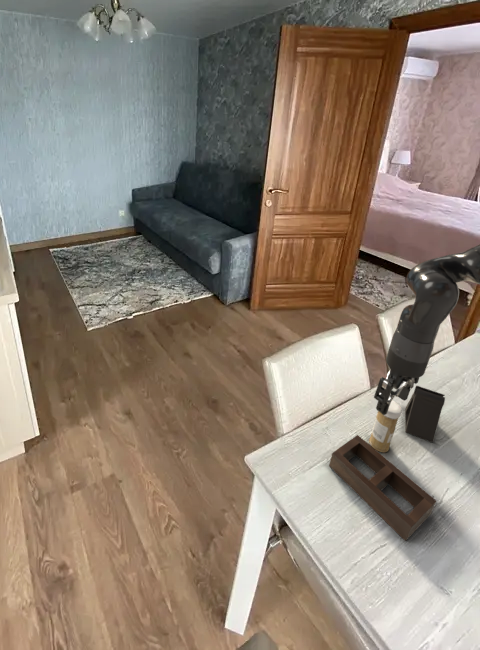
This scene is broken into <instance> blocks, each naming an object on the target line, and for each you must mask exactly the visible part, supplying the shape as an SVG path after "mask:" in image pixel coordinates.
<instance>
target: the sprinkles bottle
mask: <svg viewBox="0 0 480 650" xmlns="http://www.w3.org/2000/svg"><path fill="white" fill-rule="evenodd" d="M402 411H403V409H402V407H401V405H400V404H399V403H398V402H397V401H395V400H394V399H393V400H392V401H391V403H390V406H389V409H388V412H387V414H385V415H383V414H382V413H380V412H379V411H378V410H377V413H376V416H375V420H374V423H373V426H372V430H371V434H370V437H369V439H368V442H369V445H370V446H371V447H373V448H374V449H375V450H376V451H377V452H379V453H386V452H388V451H389V450H390V446H391V442H392V440H393V438H394V434H395V431H396V427H397V424H398V421H399V419H400V418H401V415H402Z"/></svg>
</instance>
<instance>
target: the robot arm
mask: <svg viewBox="0 0 480 650" xmlns="http://www.w3.org/2000/svg"><path fill="white" fill-rule="evenodd" d="M405 280H406V284H407V286H408V287H409V289H410V290H411V292H412V293H413V294H414V296H415V299H414V302H413V304H408V305H406V306H405V307H404V308H403V309H402V311H401V313H400V316H399V319H398V323H397V325H396V329H395V331H394V332H393V334H392V338H391V341H390V343H389V347H388V351H387V353H386V357H385V362H386V365H387V366H388V368H389V369H390V370H388V372H387V374H386V377H385V376H384V377H383V376H381V377H380V378H379V381H378V384H377V387H376V390H375V393H374V396H373V398H374V399H375V400H376V401H377V405H376V407H375V409H376V411H377V412H378V411H379V412H380V413H382V414H383V415H385V414H387V412H388V409H389V406H390V403H391V401H392V400H393V401H394V398H395V397H396V398H397V397H398V399H400V400H402V401H407V400H408V397H409V394H410V392H411V389H413V388H414V386H415V384H416V385H417V384H419V380H420V378H421V377H422V376H424V375H425V373H426V370H427V367H428V364H429V361H430V358H431V356H432V354H433V350H434V346H435V340H436V338H437V336H438V332H439V330H440V326H441V325H442V323H443V322H444V321H445V320H446V319H447V318H448V316H449V315H450V314H451V313H452V311H453V310H454V309H455V307H456V306H457V304H458V301H459V296H460V288H459V285H458V283H460V282H471V283H473V284H475V285H480V243H479V244H477V245H475V246H473V247H470V248H467V249H465V250H464V251H462V252H455V253H452V254H447V255H443V256H438V257H435V258H431V259H427V260H424V261H422V262H420V263H418V264H416V265H415V266H413V267H412V268H411V269H410V270H409V271H408V272H407V275H406V279H405ZM393 389H395V390H393Z"/></svg>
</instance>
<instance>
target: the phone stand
mask: <svg viewBox="0 0 480 650" xmlns="http://www.w3.org/2000/svg"><path fill="white" fill-rule="evenodd" d="M445 401H446V397H445V394H444V393H441V392H440V393H439V392H437V391H435V390H432V389H428V388H426V387H423V386H420V385H415V388H414V391H413V393H412V395H411V397H410V398H409V401H408V403H407V404H406V406H405V409H404V419H405V422H404V426H405V427H404V428H405V429H404V430H405V433H407V434H410V435H412V436H414V437H417V438H419V439H422V440H424V441H427V442H430V443H434V440H435V436H436V433H437V428H438V425H439V422H440V418H441V413H442V410H443V407H444V405H445V403H446V402H445Z"/></svg>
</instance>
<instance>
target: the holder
mask: <svg viewBox="0 0 480 650" xmlns="http://www.w3.org/2000/svg"><path fill="white" fill-rule="evenodd" d="M355 457H357V458H358V459H359V460H360V461H361V462H362V463H363V464H365V465H366V466H367V467H368V468H369V469H370V470H371V471H373V473H375V474H374V475H373V476H372V477H370V478H369V479H368V477H367V476H366V475H365V474H364V473H362V472H361V471H360V470H359V469H358V468H357V467H356V466H355V465H353V464H352V463H351V462H350V460H352V459H353V458H355ZM328 467H329V468H330V469H331V470H332V471H333V472H335V473H336V475H337V476H338V477H339V478H340V479H342V481H344V483H345V484H347V486H349V487H350V488H351V490H352V491H354V492H355V493H356V494H357V495H358V496H359V497H360V498H361V499H362V500H363V501H364V502H365V503H366V504H367V505H368V506H369V507H370V508H371V509H373V511H374V512H375V513H376V514H377V515H378V516H379V517H380V518H381V519H382V520H383V521H384V522H385V523H386V524H387V525H388V526H389V527H390V528H391V529H392V530H394V531H395V533H396V534H398V535H399V537H400V538H402V539H403V540H404V541H405V542H407V540H408V539H410V538H411V536H412V535H413V534H414V533H415V532H416V531H417V530H418V529H419V527H420V526H421V525H422V524H423V523H424V522H425V521H426V520H427V519H428V518H429V517H430V516H431V514H432V513H433V510H434V508H435V506H436V504H437V502H438V501H437V500H436V499H435V498H434V497H433V496H432V495H430V494H429V493H428V492H426V490H424V489H423V488H422V487H421V486H419V485H418V484H417V483H416V481H414V480H413V479H411V478H410V477H409V476H407V474H405V473H404V472H403V471H402V470H401V469H399V468H398V467H397V466H396V465H395V464H394V463H392V462H390V460H388V459H387V458H386V457H385V456H384V455H382V454H381V452H380V451H377V450H375V449H374V448H373V447H372V446H371V444H370V443H368V442H367V441H365V439H363V438H362V437H361V436H360V435H359V434H357V435H355V436H353V437H352V438H351V439H350V440H349V441H347V442H346V443H344V444H343V445H341V446H340V447H338V448H337V449H336V450H334V451H333V452H332V453H331V456H330V461H329V464H328ZM387 486H389V487H391V488H392V489H393V491H395V492H396V493H397V494H398V495H400V496H401V497H402V498H403V499H404V500H405V501H406V502H407V503H409V505H410V506H412V507H413V509H412V510H411V511H410V512H409V513H408V514H407V513H406V512H405V511H404V510H403V509H402V508H400V507H399V506H398V505H397V504H396V503H395V502H394V501H393V500H391V498H389V497H388V496H387V495H386V494H385V493H384V492H383V490H384V489H385V488H386V487H387Z"/></svg>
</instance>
